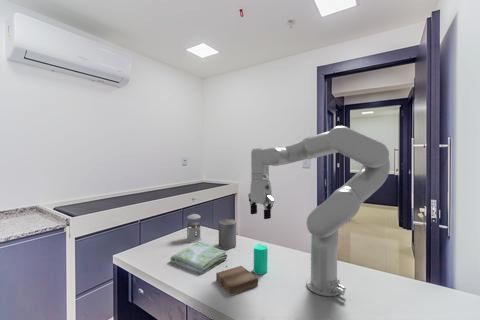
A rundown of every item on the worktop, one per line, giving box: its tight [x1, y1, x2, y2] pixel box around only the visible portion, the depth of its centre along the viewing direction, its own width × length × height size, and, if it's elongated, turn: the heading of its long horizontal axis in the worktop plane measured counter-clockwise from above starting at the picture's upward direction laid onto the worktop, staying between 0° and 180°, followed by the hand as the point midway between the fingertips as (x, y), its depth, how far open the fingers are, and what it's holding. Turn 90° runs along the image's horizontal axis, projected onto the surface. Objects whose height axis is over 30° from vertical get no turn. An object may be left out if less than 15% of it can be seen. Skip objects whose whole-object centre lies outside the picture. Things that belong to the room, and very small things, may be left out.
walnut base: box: [215, 265, 259, 296], centre depth 94 cm, size 12×12×3 cm
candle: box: [253, 243, 268, 275], centre depth 104 cm, size 6×6×12 cm
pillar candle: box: [218, 218, 237, 250], centre depth 131 cm, size 10×10×15 cm
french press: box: [185, 197, 203, 244], centre depth 141 cm, size 10×12×25 cm
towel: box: [170, 241, 228, 274], centre depth 113 cm, size 18×21×5 cm
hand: (260, 216), depth 103 cm, fingers open, 9 cm apart
